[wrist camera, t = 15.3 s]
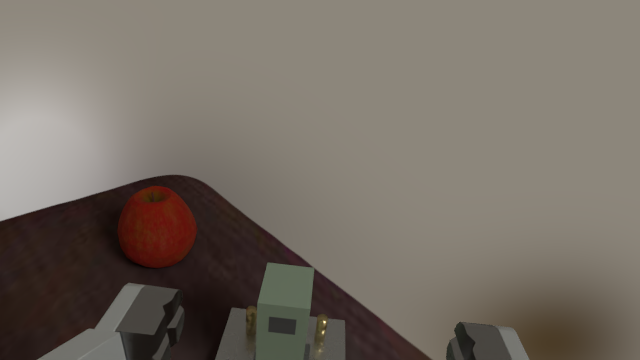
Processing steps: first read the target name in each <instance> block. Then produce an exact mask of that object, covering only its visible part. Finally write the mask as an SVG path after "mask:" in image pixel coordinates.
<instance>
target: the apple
mask: <svg viewBox="0 0 640 360" xmlns="http://www.w3.org/2000/svg"><path fill="white" fill-rule="evenodd" d="M196 232H197V226H196V223H195V219H194V216H193V214H192V213H191V211H190V209H189V207H188V206H187V205H186V204H185V202H184V201H183V200H182V199H181V198H180V197H179V196H178V195H177V194H176V193H175V192H173V191H172V190H170V189H169V188H166V187H160V186H152V187H148V188H146V189H143V190H141V191H139V192H137V193H135V194H134V195H132V196H131V197H130V199H129V200H128V201H127V203H126V205H125V207H124V208H123V210H122V213H121V215H120V218H119V222H118V230H117V233H118V237H119V242H120V247H121V249H122V250H123V252H124V253H125V255H126V257H127V258H129V259H130V260H131V261H132V262H134V263H137V264H139V265H142V266H145V267H150V268H162V267H169V266H172V265H174V264H176V263H177V262H179V261H181V260H182V259H183V258H184V257H185V256H186V255H187V254H188V252H189V251H190V249H191V247H192V246H193V244H194V242H195V237H196Z"/></svg>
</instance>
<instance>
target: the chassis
mask: <svg viewBox="0 0 640 360" xmlns="http://www.w3.org/2000/svg"><path fill="white" fill-rule="evenodd" d="M256 335H257V308H256V307H255V306H249V307H247V309H240V308H232V309H231V312H230V315H229V318H228V321H227V324H226V327H225V330H224V334H223V337H222V340H221V343H220V346H219V349H218V352H217V355H216V358H215V360H256ZM303 360H345V321H344V320H335V319H328V317H327V316H326V315H325V314H320V315H318V317H309V322H308V329H307V337H306V344H305V352H304V359H303Z"/></svg>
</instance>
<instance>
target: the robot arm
mask: <svg viewBox="0 0 640 360" xmlns="http://www.w3.org/2000/svg"><path fill="white" fill-rule="evenodd" d="M182 299H183V296H182V291H181V290H177V289H170V288H163V287H156V286H149V285H141V284H133V283H128V284H127V285H125V286H124V287H123V288H122V290H121V291H120V293H119V294H118V295H117V297H116V298H115V300H114V301H113V303H112V304H111V306H110V307H109V308H108V310H107V311H106V313H105V314H104V316H103V317H102V319H101V320H100V321H99V323H98V324H97V326H96V327H95V329H87V330H86V331H84V332H82V333H81V334H79V335H78V336H76V337H74V338H73V339H71V340H69V341H68V342H66V343H64V344H63V345H61V346H59V347H58V348H56V349H54V350H53V351H51V352H49V353H48V354H46V355H44V356H43V357H41V358H39V359H38V360H170V358H171V351H170V348H171V347H172V346H173V345H175V344H176V343H177V342H178V340H179V338H180V335H181V333H182V329H183V325H184V316H185V315H184V309H183V308H182V307H181V306H180V304H181V302H182ZM454 331H455V334H456V337H455V338H453V339H451V340H450V342H449V344H448V347H447V356H446V359H447V360H529V358H528V356H527V354H526V352H525V350H524V348H523V346H522V344H521V342H520V340H519V338H518V336H517V334H516V332H515V330H514V329H513V328H510V327H501V326H493V325H485V324H476V323H466V322H459V323H458V324H457V325H456V328H455V330H454Z"/></svg>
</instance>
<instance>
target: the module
mask: <svg viewBox="0 0 640 360" xmlns="http://www.w3.org/2000/svg"><path fill="white" fill-rule="evenodd" d="M313 275H314V268H309V267H301V266H292V265H284V264H275V263H268V264H267V268H266V272H265V276H264V280H263V284H262V288H261V291H260V295H259V299H258V306H257V335H256V360H303V359H304V352H305V344H306V337H307V329H308V322H309V315H310V307H311V296H312V285H313Z"/></svg>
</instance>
